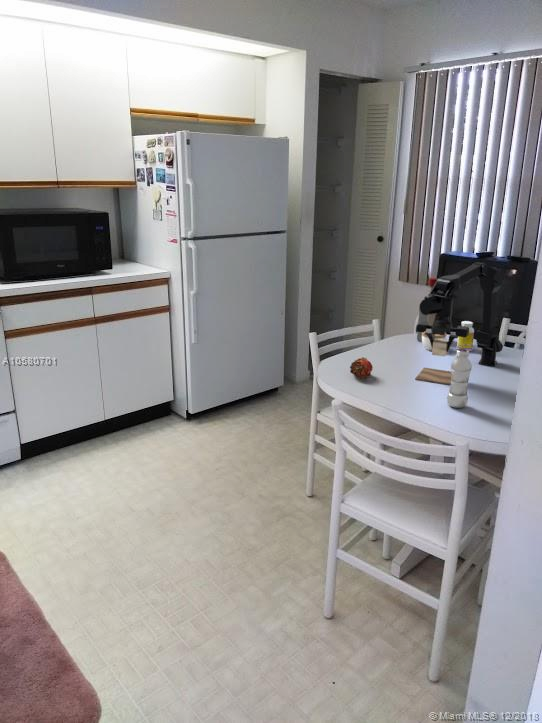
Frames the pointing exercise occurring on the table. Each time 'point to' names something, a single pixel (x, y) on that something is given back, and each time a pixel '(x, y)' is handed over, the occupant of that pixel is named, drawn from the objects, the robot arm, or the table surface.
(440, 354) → the maple cube
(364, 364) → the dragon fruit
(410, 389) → the table surface
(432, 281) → the liquor
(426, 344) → the lidded jar
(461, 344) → the supplement bottle
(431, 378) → the walnut board
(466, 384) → the plastic bottle
